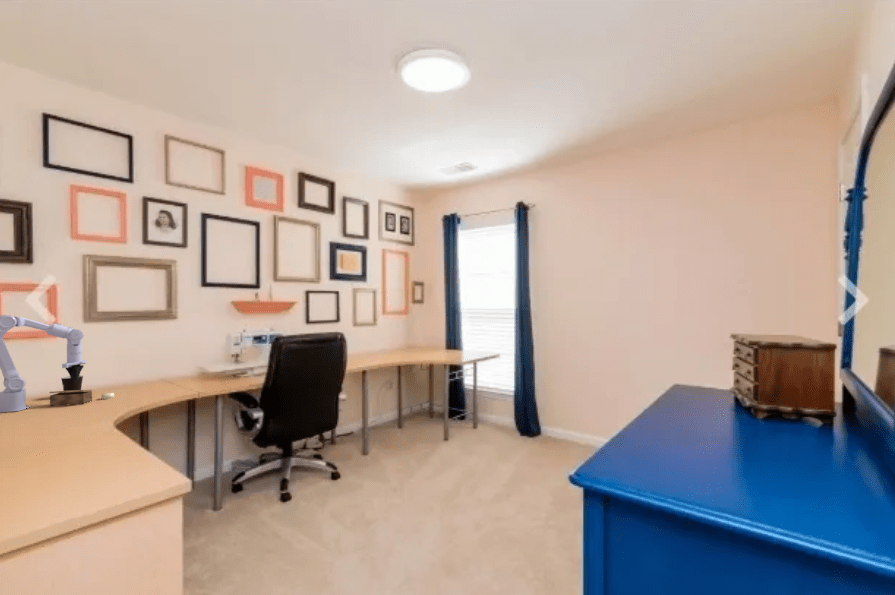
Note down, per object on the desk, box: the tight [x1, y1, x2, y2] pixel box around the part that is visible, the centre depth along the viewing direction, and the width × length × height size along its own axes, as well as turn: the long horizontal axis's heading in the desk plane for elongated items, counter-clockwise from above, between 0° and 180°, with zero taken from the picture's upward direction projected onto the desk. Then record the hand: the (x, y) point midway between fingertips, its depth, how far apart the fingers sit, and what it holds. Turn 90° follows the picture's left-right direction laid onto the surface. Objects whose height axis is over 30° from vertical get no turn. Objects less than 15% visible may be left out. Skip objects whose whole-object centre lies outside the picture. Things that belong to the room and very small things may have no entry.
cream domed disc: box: [100, 392, 115, 400], centre depth 218 cm, size 5×5×2 cm
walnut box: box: [49, 390, 93, 406], centre depth 207 cm, size 14×6×5 cm, turn 101°
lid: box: [49, 389, 93, 394], centre depth 207 cm, size 14×7×1 cm, turn 101°
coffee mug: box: [61, 374, 84, 393], centre depth 224 cm, size 12×9×10 cm
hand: (74, 380), depth 212 cm, fingers closed
